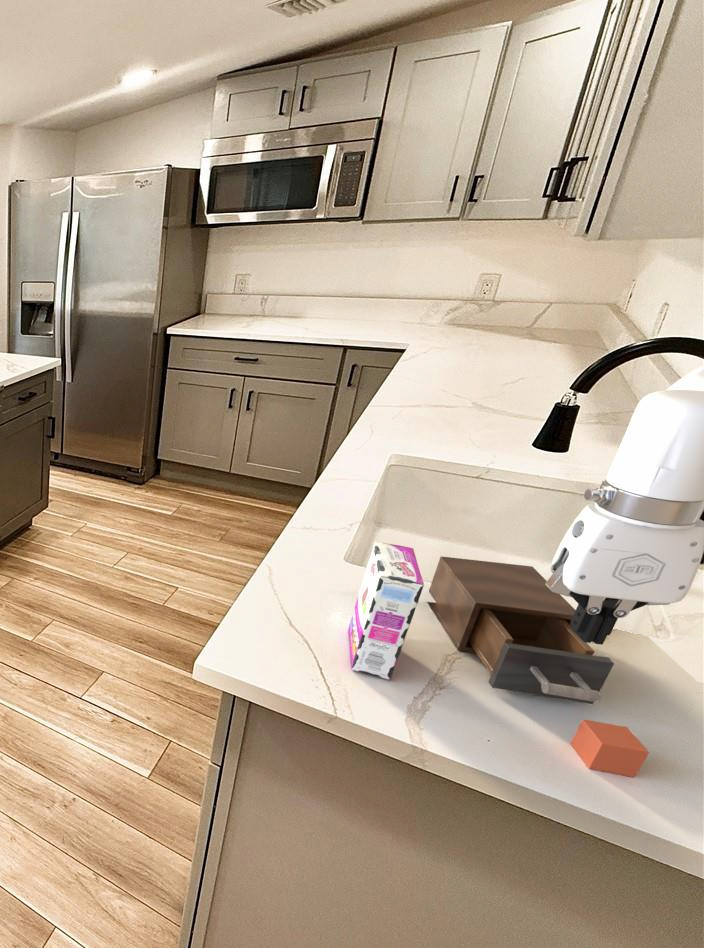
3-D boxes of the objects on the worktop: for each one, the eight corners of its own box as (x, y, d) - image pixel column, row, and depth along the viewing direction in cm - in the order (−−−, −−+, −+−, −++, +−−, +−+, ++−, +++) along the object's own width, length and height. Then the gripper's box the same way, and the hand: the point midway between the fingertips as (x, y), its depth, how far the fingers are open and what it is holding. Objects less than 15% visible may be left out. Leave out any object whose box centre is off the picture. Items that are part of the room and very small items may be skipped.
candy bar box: (393, 682, 86) (426, 584, 80) (350, 671, 89) (378, 576, 82) (385, 637, 95) (415, 546, 88) (347, 629, 98) (372, 539, 91)
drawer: (615, 731, 76) (638, 688, 73) (507, 712, 79) (526, 671, 77) (543, 645, 90) (560, 607, 87) (455, 632, 94) (469, 596, 91)
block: (613, 751, 74) (627, 726, 72) (634, 777, 71) (649, 752, 69) (570, 743, 75) (582, 719, 74) (588, 768, 72) (602, 743, 70)
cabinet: (558, 665, 87) (582, 616, 84) (457, 650, 92) (475, 602, 88) (513, 611, 99) (532, 566, 95) (425, 600, 103) (440, 556, 100)
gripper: (578, 510, 67) (522, 644, 75) (773, 525, 62) (692, 668, 69) (543, 483, 74) (494, 609, 81) (717, 494, 68) (648, 628, 76)
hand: (586, 636), depth 75 cm, fingers closed
